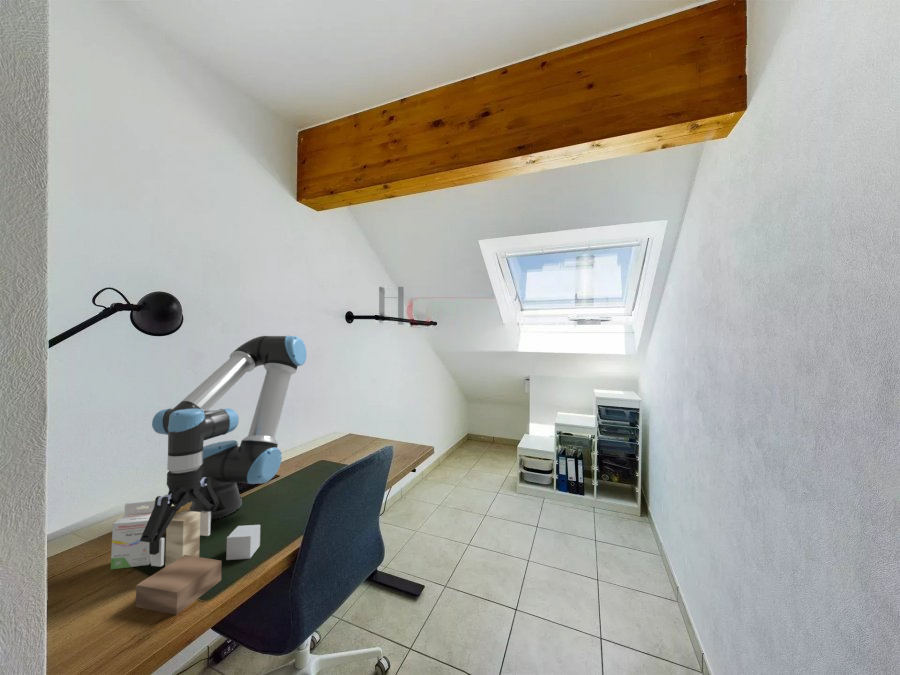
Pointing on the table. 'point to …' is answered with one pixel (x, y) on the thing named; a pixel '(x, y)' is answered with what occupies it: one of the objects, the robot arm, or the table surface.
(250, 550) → the grey plastic block
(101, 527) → the table surface
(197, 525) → the oak column
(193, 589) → the walnut base block
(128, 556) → the ink box
